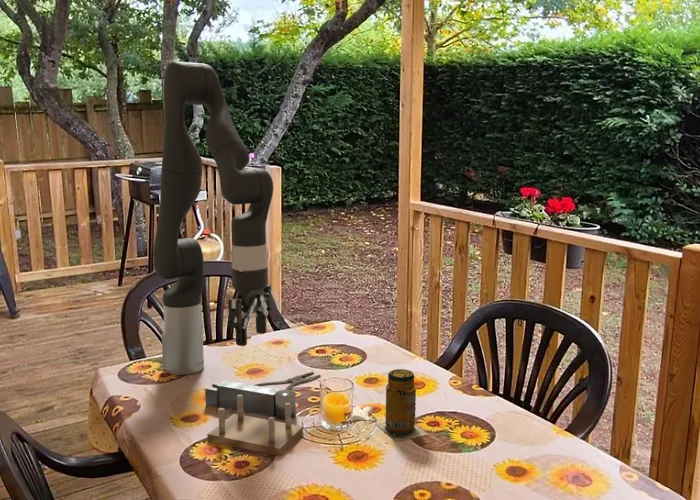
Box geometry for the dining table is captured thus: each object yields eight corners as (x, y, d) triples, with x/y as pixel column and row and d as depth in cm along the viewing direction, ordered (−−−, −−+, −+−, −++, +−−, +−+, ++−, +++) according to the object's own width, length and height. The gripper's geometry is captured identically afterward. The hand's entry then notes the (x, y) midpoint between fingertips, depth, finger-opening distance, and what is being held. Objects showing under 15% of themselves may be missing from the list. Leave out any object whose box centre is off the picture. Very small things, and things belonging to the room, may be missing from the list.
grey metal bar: (205, 406, 150) (204, 384, 149) (216, 398, 154) (215, 377, 153) (290, 421, 143) (289, 399, 142) (299, 413, 147) (299, 391, 146)
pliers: (235, 391, 157) (292, 365, 173) (235, 394, 157) (292, 369, 173) (266, 401, 152) (322, 374, 167) (266, 405, 152) (322, 377, 168)
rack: (207, 441, 134) (206, 410, 133) (234, 420, 143) (233, 391, 142) (279, 456, 128) (279, 423, 127) (302, 433, 137) (302, 403, 136)
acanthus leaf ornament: (341, 425, 142) (341, 417, 142) (339, 412, 149) (338, 403, 148) (376, 424, 143) (376, 415, 142) (373, 410, 149) (373, 402, 149)
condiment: (406, 418, 144) (407, 364, 142) (427, 435, 137) (429, 378, 134) (376, 425, 141) (376, 370, 139) (396, 442, 134) (397, 385, 131)
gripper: (250, 257, 150) (252, 327, 153) (215, 270, 137) (218, 347, 140) (281, 259, 147) (282, 331, 150) (248, 273, 134) (250, 352, 137)
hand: (251, 339), depth 145 cm, fingers open, 8 cm apart
